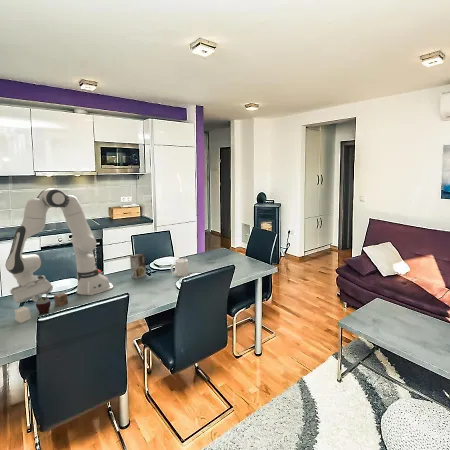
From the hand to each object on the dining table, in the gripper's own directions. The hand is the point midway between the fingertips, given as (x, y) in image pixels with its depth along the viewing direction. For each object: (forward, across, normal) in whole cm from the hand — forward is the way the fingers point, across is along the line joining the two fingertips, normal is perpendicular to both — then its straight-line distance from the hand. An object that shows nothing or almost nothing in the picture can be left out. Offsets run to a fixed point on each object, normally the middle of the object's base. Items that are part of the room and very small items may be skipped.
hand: (40, 302), depth 180 cm
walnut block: (+5, +11, +2) cm, 12 cm away
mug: (+26, +88, -19) cm, 93 cm away
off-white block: (+5, -11, +2) cm, 12 cm away
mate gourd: (+7, 0, 0) cm, 7 cm away
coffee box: (+9, +69, -2) cm, 70 cm away
